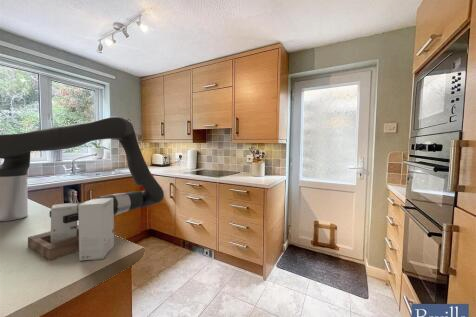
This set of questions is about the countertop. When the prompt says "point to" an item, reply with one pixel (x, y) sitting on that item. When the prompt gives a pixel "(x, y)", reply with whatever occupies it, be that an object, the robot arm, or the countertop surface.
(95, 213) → the skincare box
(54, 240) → the skincare box
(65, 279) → the countertop surface
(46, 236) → the socket block
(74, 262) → the countertop surface
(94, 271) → the countertop surface
